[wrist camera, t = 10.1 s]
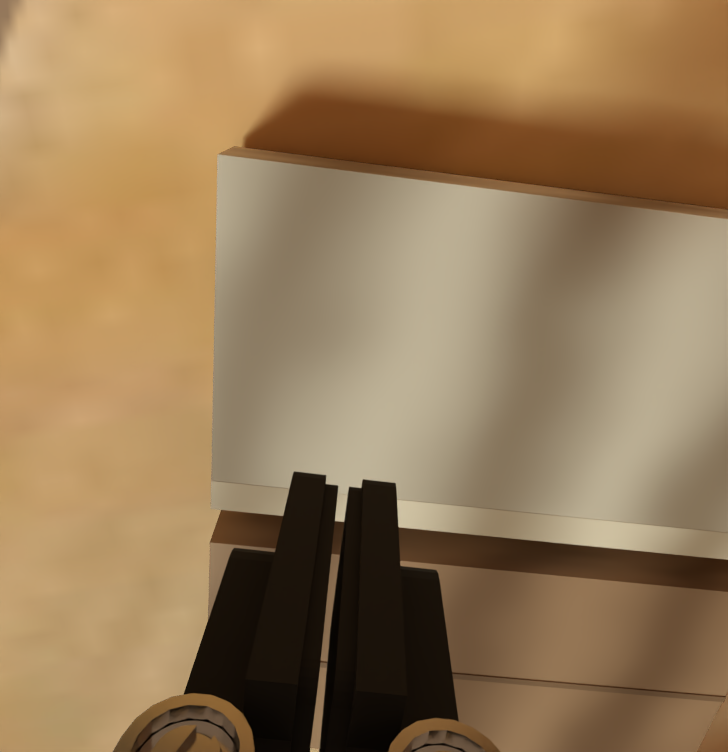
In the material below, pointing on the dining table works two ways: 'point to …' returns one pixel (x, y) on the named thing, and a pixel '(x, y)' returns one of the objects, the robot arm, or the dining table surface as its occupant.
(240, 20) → the dining table surface
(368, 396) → the board
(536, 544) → the laid board
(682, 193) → the dining table surface
